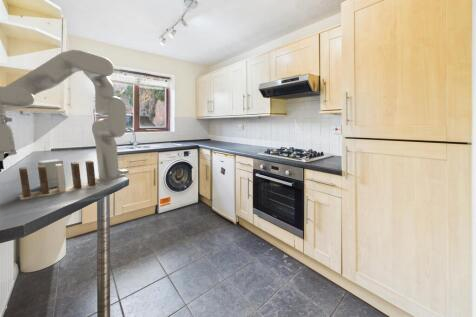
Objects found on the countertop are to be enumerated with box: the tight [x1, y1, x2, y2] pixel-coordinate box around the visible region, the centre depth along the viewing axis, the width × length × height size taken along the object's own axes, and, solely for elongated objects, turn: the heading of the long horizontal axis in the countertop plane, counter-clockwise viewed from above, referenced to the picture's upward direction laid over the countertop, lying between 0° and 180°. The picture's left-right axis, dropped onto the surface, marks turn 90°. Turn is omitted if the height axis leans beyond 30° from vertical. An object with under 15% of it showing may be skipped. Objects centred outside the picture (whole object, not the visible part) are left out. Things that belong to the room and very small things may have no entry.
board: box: [18, 183, 100, 201], centre depth 95 cm, size 26×9×1 cm, turn 136°
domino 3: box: [70, 162, 82, 189], centre depth 98 cm, size 2×5×11 cm, turn 46°
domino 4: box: [84, 160, 97, 186], centre depth 102 cm, size 2×5×11 cm, turn 46°
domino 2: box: [55, 164, 67, 192], centre depth 94 cm, size 2×5×11 cm, turn 45°
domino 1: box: [37, 165, 50, 195], centre depth 91 cm, size 2×5×11 cm, turn 46°
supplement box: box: [37, 158, 67, 189], centre depth 102 cm, size 7×7×13 cm
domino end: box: [18, 166, 31, 198], centre depth 87 cm, size 2×5×11 cm, turn 46°
